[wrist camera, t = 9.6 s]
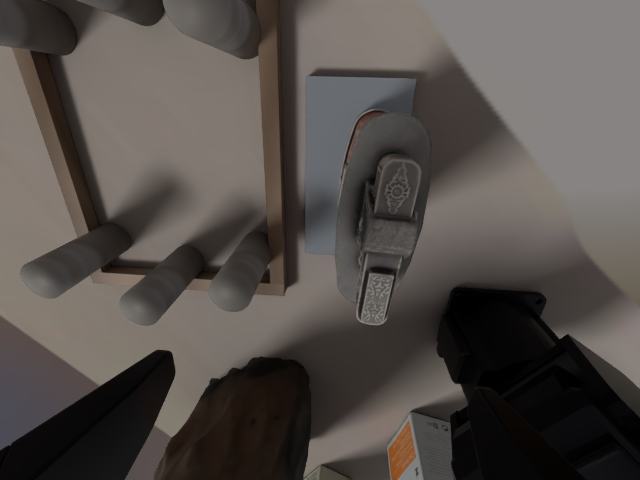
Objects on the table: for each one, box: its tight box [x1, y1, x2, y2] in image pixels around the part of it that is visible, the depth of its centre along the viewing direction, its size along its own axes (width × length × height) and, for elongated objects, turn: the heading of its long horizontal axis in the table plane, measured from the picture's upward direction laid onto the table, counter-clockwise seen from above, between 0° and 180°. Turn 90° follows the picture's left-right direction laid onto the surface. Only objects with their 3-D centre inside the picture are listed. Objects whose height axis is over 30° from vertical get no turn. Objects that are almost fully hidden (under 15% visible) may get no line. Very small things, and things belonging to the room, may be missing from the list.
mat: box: [305, 76, 417, 255], centre depth 19 cm, size 6×11×1 cm, turn 179°
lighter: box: [335, 109, 431, 325], centre depth 14 cm, size 8×3×10 cm, turn 175°
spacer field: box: [0, 0, 287, 325], centre depth 17 cm, size 15×20×6 cm
